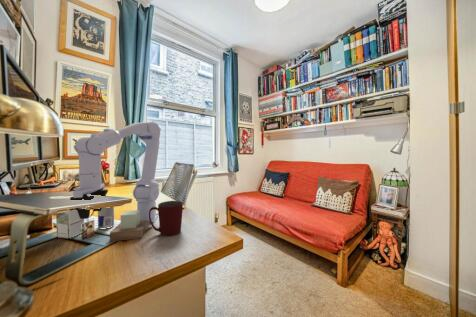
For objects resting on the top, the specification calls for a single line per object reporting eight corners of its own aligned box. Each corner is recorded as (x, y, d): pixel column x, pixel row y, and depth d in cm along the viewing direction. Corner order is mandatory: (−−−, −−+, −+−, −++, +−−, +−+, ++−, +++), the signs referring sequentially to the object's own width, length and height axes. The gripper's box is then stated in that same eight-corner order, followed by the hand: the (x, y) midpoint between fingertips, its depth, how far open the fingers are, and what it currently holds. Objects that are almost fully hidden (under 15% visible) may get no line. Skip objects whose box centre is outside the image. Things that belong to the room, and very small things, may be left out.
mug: (149, 241, 65) (149, 209, 65) (148, 231, 73) (148, 203, 72) (184, 234, 70) (184, 205, 70) (180, 226, 78) (180, 199, 78)
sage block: (125, 223, 72) (125, 211, 72) (140, 222, 73) (139, 210, 73) (120, 229, 68) (120, 215, 67) (135, 227, 69) (135, 214, 68)
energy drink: (100, 225, 78) (100, 197, 78) (115, 223, 80) (115, 196, 80) (96, 230, 73) (95, 200, 73) (112, 228, 75) (111, 198, 75)
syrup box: (85, 232, 71) (84, 194, 71) (68, 239, 66) (68, 198, 65) (72, 231, 72) (72, 194, 72) (55, 238, 67) (54, 197, 66)
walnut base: (121, 229, 74) (121, 222, 74) (148, 227, 77) (148, 220, 76) (109, 241, 65) (109, 232, 65) (141, 238, 67) (141, 230, 67)
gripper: (89, 171, 68) (89, 208, 69) (60, 176, 54) (61, 223, 54) (110, 171, 70) (111, 207, 70) (88, 176, 56) (89, 221, 56)
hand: (91, 214), depth 62 cm, fingers open, 7 cm apart
